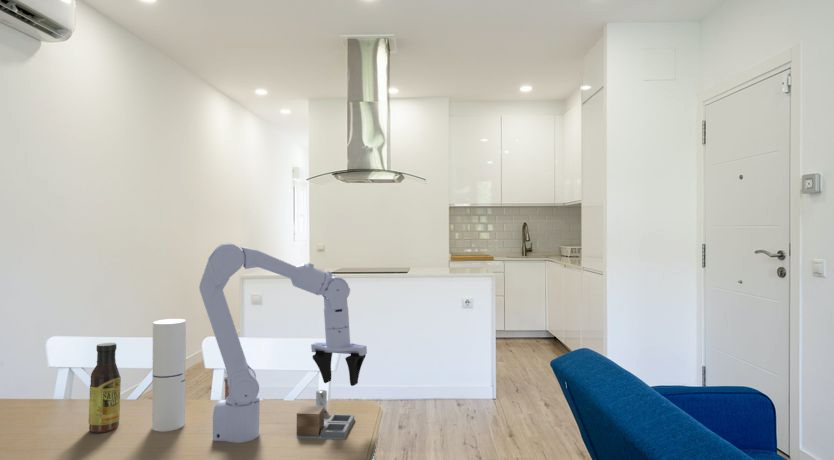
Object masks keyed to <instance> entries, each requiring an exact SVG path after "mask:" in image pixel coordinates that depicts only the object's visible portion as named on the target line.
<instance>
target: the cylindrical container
mask: <svg viewBox="0 0 834 460" xmlns="http://www.w3.org/2000/svg"><path fill="white" fill-rule="evenodd" d="M186 320H187V319H184V318H183V319H182V318H168V319H167V318H166V319H159V320H155V321H153V322H152V384H151V385H152V386H151V387H152V391H151V392H152V396H151V397H152V398H151V399H152V408H151V410H152V414H151V415H152V416H151V417H152V419H151V429H152V430H153V431H155V432H171V431H174V430H179V429H182V428H183V427H184V426H185V425H186V375H187V373H186V371H187V370H186V368H187V367H186V361H187V360H186V358H187V357H186V348H187V347H186V345H187V344H186V339H187V337H186V336H187V335H186V332H187V331H186V330H187V329H186V328H187V327H186V326H187V325H186V324H187V322H186Z"/></svg>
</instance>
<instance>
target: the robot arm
mask: <svg viewBox="0 0 834 460" xmlns="http://www.w3.org/2000/svg"><path fill="white" fill-rule="evenodd" d="M314 266H315V265H314V264H313V263H311V262H308V263H304V262H302V263H300V264H298V265H293V264H291V263H288V262H286V261H284V260H281V259H279V258H276V257H275V256H272V255H270V254H268V253H265V252H262V251H260V250H258V249H255V248H254V249H253V248H250V247H246V246H241V245H240V246H237V245H236V244H234V243H230V242H225V243H221V244H220V245H218V246H217V247H216V248H215V249H214V250H213V252H212V253H211V255H210V256H209V257H208V258H207V262H206V265H205V268H204V271H203V273H202V277H201V279H200V281H199V288H198V289H199V292H200V296H201V299H202V301H203V303H204V304H203V305H204V307H205V311H206V313H207V316H208V320H209V323H210V325H211V328H212V331H213V334H214V337H215V340H216V343H217V345H218V346H217V347H218V349H219V352H220V355H221V357H222V360H223V364H224V367H225V371H226V374H227V375H226V376H227V377H228V379H227V383H228V386H229V391H228V392H229V395H228V397H226V400H225V399H219V400H218V401H216V404H215V406H214V408H213V413H212V441H213V442H214V441H216V442H217V441H218V442H229V443H237V444H238V443H246V442H250V441H253V440H255V439H257V438H259V436H260V407H261V406H260V403H261V402H260V395H259V392H260V384H259V382H258V380H257V375H256V373H255V372H256V371H255V370H254V369H253V368H252V367H251V366H249V364H248V362H247V358H246V355H245V353H244V350H243V347H242V345H241V341H240V338H239V334H238V332H237V329H236V326H235V321H234V320H233V317H232V314H231V310H230V308H229V304H228V302H227V299H226V296H225V293H224V288H225V287H226V285H228V282H229V280H230V278H231V277H232V276H233V275H235V274H236V273H237V272H238V271H240V269H241V268H242V267H243V268H244V269H245V270H247V269H255V268H259V269H263V270H265V271H269V272H271V273H274V274H277V275H280V276H283V277H285V278H288V279H290V282H291V283H292V285H293V287H295V288H298V289H300V290H303V291H306V292H308V293H311V294H314V295H315V296H322V297H323V305H324V306H323V314H324V315H323V317H324V330H325V333H324V334H325V341H324V342H314V343H311V345H310V346H311V347H310V348H311V353H314V354H313V355H312V360H313V361H314V362H315V364H316V366H317V368H318V370H319V372H320V374H321V378H322V381H323V383H324V384H327V383H329V382H331V381H332V358H333V354H346V355H348V356H346V357H345V358H344V359H345V362H346V365H347V368H348V369H347V370H348V373H349V374H348V376H349V383H350V386H351V387H353V386H356V385H358V383H359V376H360V371H361V368H362V365H363V363H364V360H365V358H366V355H367V354H368V349H367V345H366V344H365V345H364V344H358V343H354V342H351V337H350V336H351V333H350V320H349V319H350V317H349V316H350V315H349V307H348V297H349V296H350V294H351V293H350V292H351V288H350V287H349V284H348V282H347V281H346V280H345V279H344V278H341V277H339V276H337V275H335V274H333V272H331V271H330V270H327V272H326V271H324V270H321V269H320V268H317V267H314Z"/></svg>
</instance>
